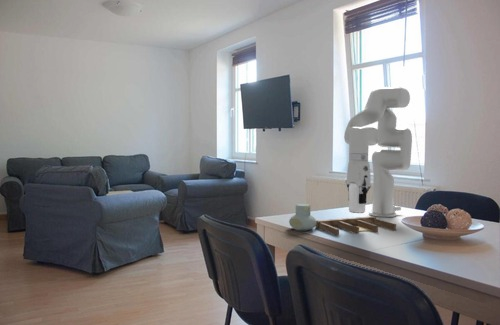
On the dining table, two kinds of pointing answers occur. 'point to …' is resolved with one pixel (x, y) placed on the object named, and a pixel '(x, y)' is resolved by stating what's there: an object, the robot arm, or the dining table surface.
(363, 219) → the notch rack
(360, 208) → the can
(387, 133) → the robot arm
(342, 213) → the dining table surface
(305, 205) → the air freshener
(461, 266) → the dining table surface
